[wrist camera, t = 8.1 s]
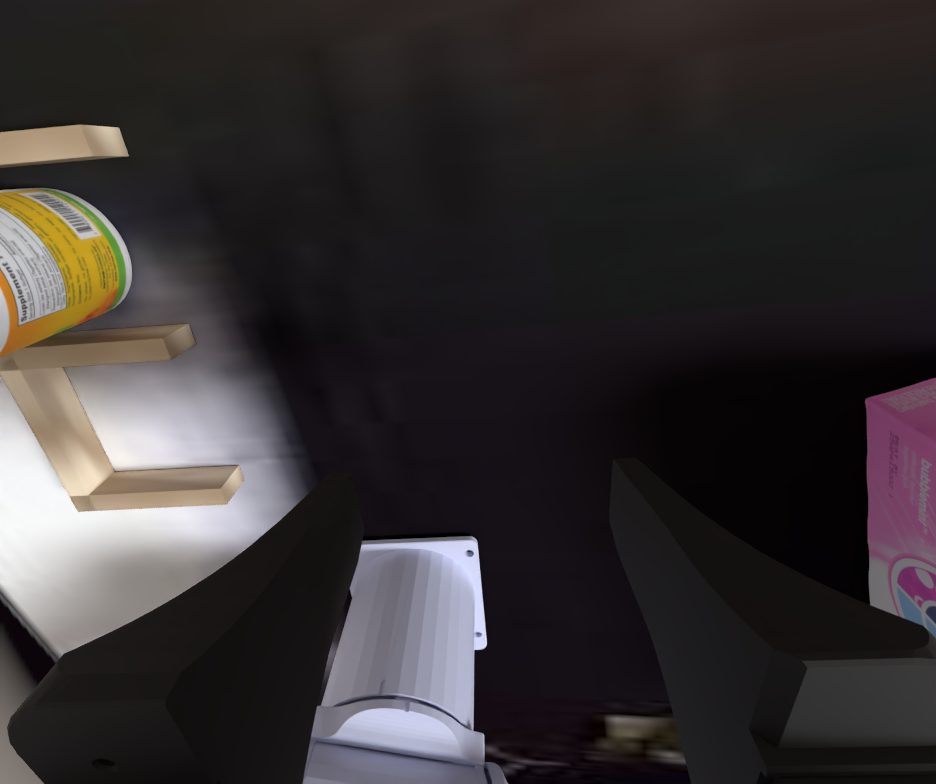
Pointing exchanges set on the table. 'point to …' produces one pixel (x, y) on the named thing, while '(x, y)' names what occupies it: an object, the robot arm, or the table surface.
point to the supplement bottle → (55, 265)
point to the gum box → (903, 502)
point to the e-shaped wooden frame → (48, 388)
